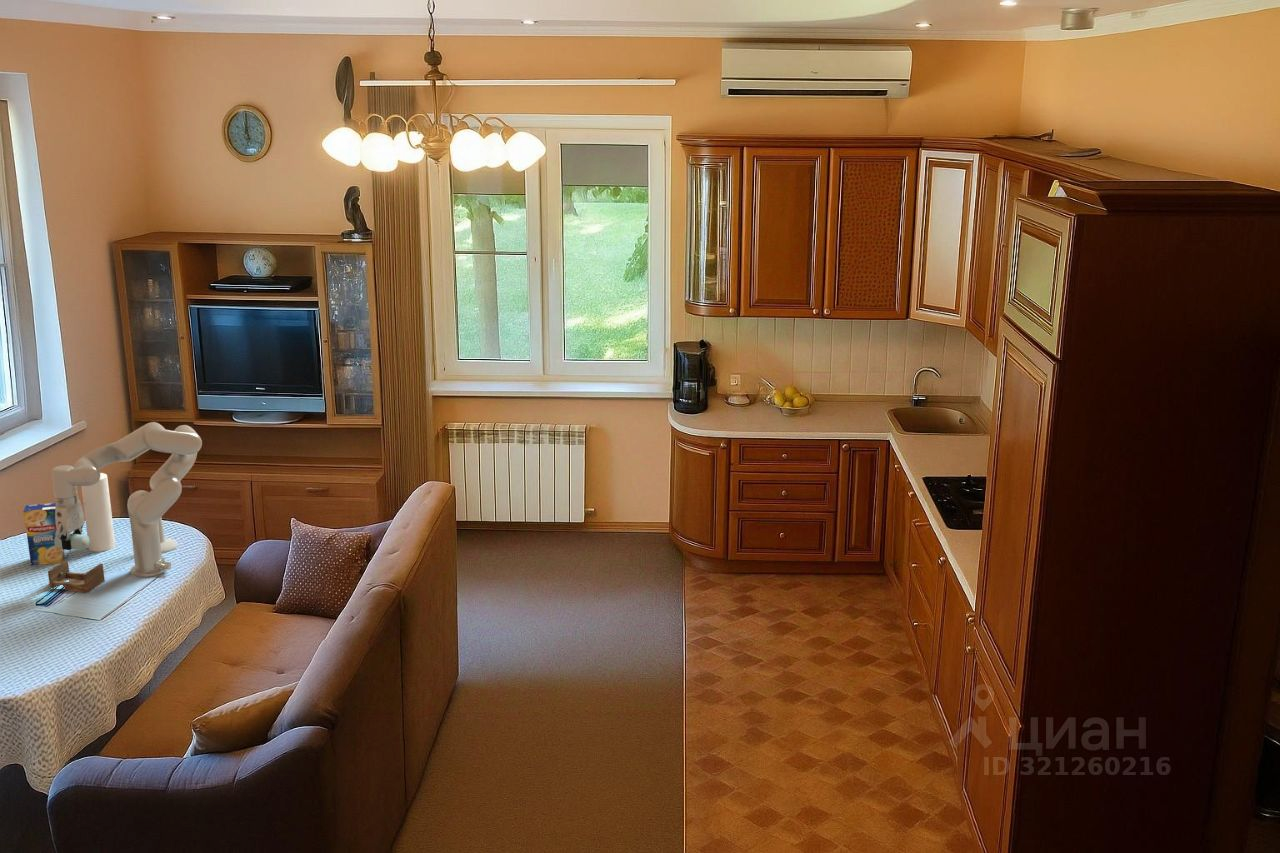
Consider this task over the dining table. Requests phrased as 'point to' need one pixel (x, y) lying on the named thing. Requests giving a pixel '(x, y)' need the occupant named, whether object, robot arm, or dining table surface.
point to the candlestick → (166, 540)
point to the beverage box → (42, 534)
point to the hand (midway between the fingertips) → (72, 545)
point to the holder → (75, 578)
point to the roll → (74, 541)
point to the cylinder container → (98, 515)
